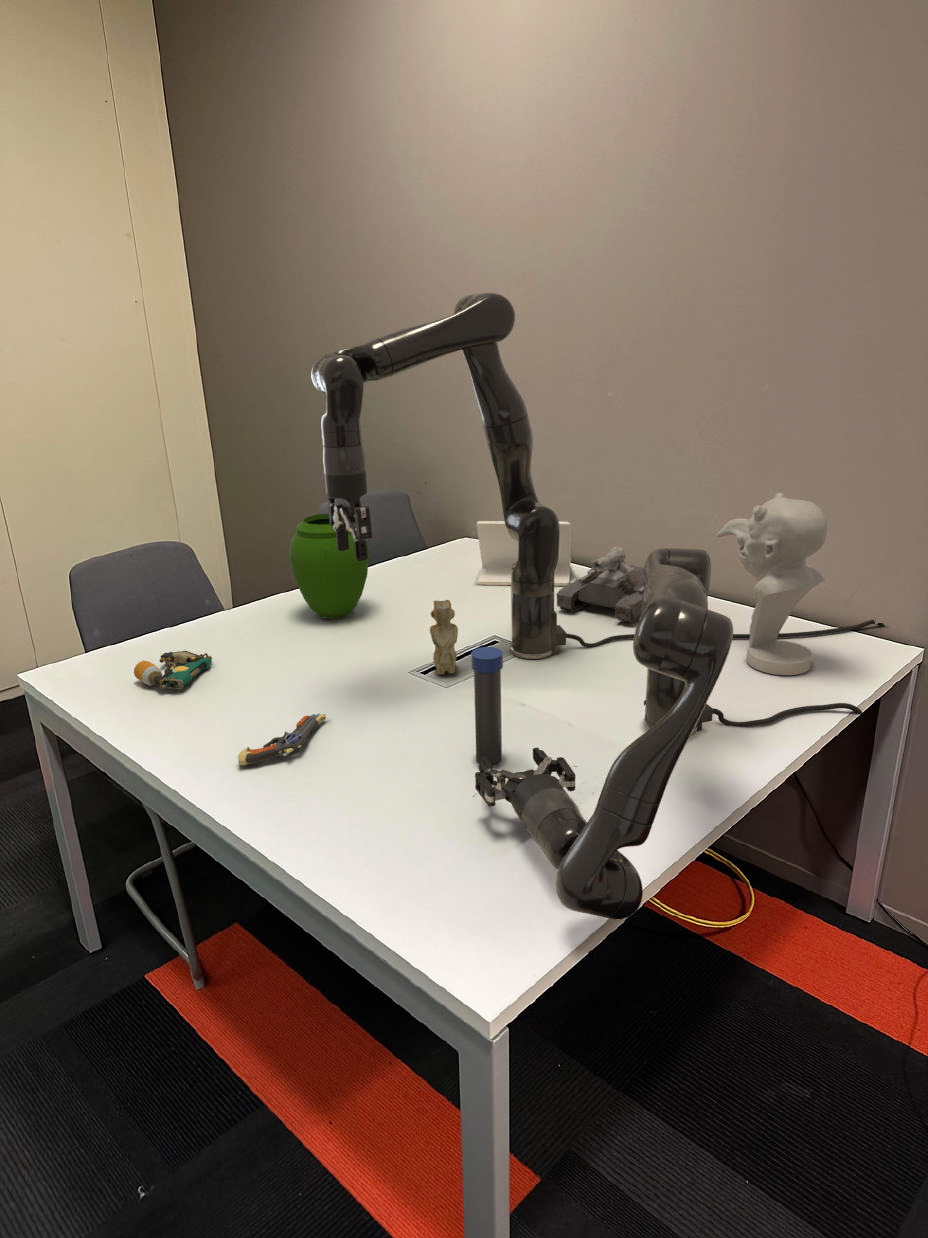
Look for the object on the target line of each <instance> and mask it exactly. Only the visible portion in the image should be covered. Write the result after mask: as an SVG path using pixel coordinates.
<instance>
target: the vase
mask: <svg viewBox="0 0 928 1238" xmlns="http://www.w3.org/2000/svg"><path fill="white" fill-rule="evenodd" d="M346 530H347V529H346ZM347 531H348V530H347ZM295 532H296V533H295V534H294V536H293V537H292V538H291V540H290V542H289V551H288V559H289V564H290V566H291V567H290V568H291V570H292V575H293V578H294V581H295V584H296V586H297V587H298V589H299V591H300V593H301V596H302V597H303V600H304V601H305V603H306V604H307V605H308V607H309V608H310V609H311V611H312V612H314V613H315V614H316V615H317V616H318V617H320V618H324V619H326V620H327V619H329V620H336V619H341V618H345V617H347V616H349V615H350V614H351V613H352V612H353V611H354V610H355V608H356V607H357V605H358V604H359V601H360V599H361V597H362V595H363V592H364V588H365V586H366V581H367V578H368V570H369V561H370V560H369V559H370V548H369V545H368V540H366V542H367V554H368V558H367V560H363V561H357V560H356V559H355V549H354V539H353V536H352V533H351V532H350V531H348V539H349V549H348V550H344V551H339V550H338V549H337V540H336V531H334V529H333V526H330V523H329V513H320V514H313V515H310V516H307V517H305V518H303V519H302V520H301V521H300V522H299V523H298V524H297V525H296V526H295ZM356 533H357V531H356Z"/></svg>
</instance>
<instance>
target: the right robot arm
mask: <svg viewBox="0 0 928 1238" xmlns="http://www.w3.org/2000/svg"><path fill="white" fill-rule="evenodd" d="M643 568H644V573H643V580H644V591H643V596H642V613H641V616H640V618H639V619H638V620H637V624H636V627H635V631H634V633H633V634H634V638H633V640H632V641H633V642H632V650H633V656H634V658H635V660H636V661H637V662H638V664H640V665H641V666H643V667H645V668H646V671H647V672H646V673H647V674H646V686H645V687H646V688H645V700H643V706H645V708H644V717H643V727H644V729H645V730H646V731H645V732H644V733H642V734H641V735H640V736H638V737H637V738H636V739H634V740H633V741H632V742H630V744H629V745H627V746H626V747H625V748H624V749H623V750H622V751H621V752H620V753H619V754H618V755H617V757H616V758H615V760H614V761H613V763H612V764H611V766H610V768H609V770H608V772H607V775H606V778H605V780H604V783H603V786H602V789H601V792H600V794H599V797H598V799H597V803H596V806H595V808H594V811H593V814H592V815H591V816H590V818H589V820H586V819H585V818H584V816H583V815H582V813H581V811H580V809H579V807H578V806H577V804H576V803H575V801H574V800H573V799H572V797H571V796H570V795H569V794H568V792H567V791H569V792H574V791H576V773H575V772H574V770H573V768H572V767H571V765H570V764H569V763H568V762H567V760H566V758H565V757H563V756H558V757H556V759H553V758H552V757H551V756H548V755H547V753H546V752H545V750H543V749H540V748H539V747H533V748H532V760H533V761H534V763H535V764H536V766H537V768H536V769H527V770H524V771H515V772H513V771H511V770H507V769H505V768H504V769H503V768H502V769H501V770H498V769H495V768H494V766H492V765H491V763H490V762H489V760H488V759H487V757H481V761H479V764H478V771H477V772H475V773H474V778H475V785H474V788H475V790H476V791H477V793H478V795H479V796H480V797H481V798H482V800H483V801H484V802H485V804H486V805H487V807H490V808H491V807H495V806H496V802H498V801H501V800H505V801H506V802H508V803H510V804H511V806H512V808H513V811H514V812H515V814H516V815H517V817H518V819H519V820H520V821H521V823H522V824H523V827H524V830H526V831H527V832H528V834H529V835H530V837H531V839H532V840H533V841H534V842H535V843H536V844H537V845H538V846H539V847H540V849H541V851H542V853H543V854H544V855H545V857H546V859H548V861H549V863H550V864H551V865H552V866H553V867H554V869H556V870H557V872H556V878H555V888H556V895H557V897H558V899H559V901H560V903H561V905H563V906H564V907H565V908H566V909H568V910H570V911H573V912H575V913H576V912H577V913H581V914H585V915H586V914H587V915H592V916H595V917H596V916H597V917H601V918H605V919H610V920H625V919H627V918H630V917H631V916H632V915H634V914H635V913H636V912H637V911H638V910H639V908H640V906H641V904H642V900H643V895H644V893H643V892H644V891H643V882H642V879H641V876H640V873H639V872H638V870H637V868H636V866H635V865H634V864H633V862H631V860H629V859H628V858H627V857H626V856H625V855H624V854H623V853H622V852H621V851H620V849H623V848H630V847H632V848H633V847H640V846H642V845H643V844H644V843H645V842H646V841H647V840H648V838H649V836H650V833H651V830H652V828H653V825H654V822H655V819H656V817H657V814H658V810H659V808H660V805H661V802H662V799H663V797H664V795H665V791H666V789H667V786H668V783H669V781H670V778H671V776H672V774H673V772H674V770H675V767H676V766H677V764H678V761H679V760H680V757H681V755H682V753H683V751H684V750H685V747H686V746H687V744H688V742H689V740H690V738H691V737H694V736H695V735H696V734H697V733H699V732H702V731H703V724H704V723H710V722H713V716H714V715H716V716H717V719H718V721H719V722H720V723H721V724H722V725H725V726H729V727H736V728H749V727H757V726H764V725H768V724H771V723H775V722H777V721H778V720H780V719H782V718H784V717H787V716H790V715H795V714H799V713H805V712H807V713H808V712H816V711H817V712H819V711H831V710H837V709H845V710H851V711H852V712H853V713H855V714H856V715H863V714H864V712H863V711H862V710H861V709H860V708H859V707H857V706H856V705H854V704H851V703H849V702H848V703H845V702H836V703H828V704H817V705H805V706H804V705H803V706H798V707H797V706H796V707H794V708H793V707H792V708H787V709H785V710H782V711H779V712H777V713H775V714H774V715H771V716H770V717H769V716H768V717H766V718H761V719H754V720H746V721H732V720H729V719H727V718H725V716H724V713H723V712H722V711H721V710H720V709H718V708H713V707H712V706H711V705H709V704H708V701H709V699H710V697H711V694H712V693H713V691H714V689H715V686H716V684H717V682H718V680H719V678H720V676H721V674H722V671H723V669H724V666H725V664H726V661H727V659H728V656H729V654H730V649H731V646H732V643H733V638H732V637H733V634H734V624H733V621H732V620H731V618H730V617H728V616H727V615H725V614H723V613H719V612H717V611H714V610H712V609H709V601H708V598H709V590H710V585H711V575H712V562H711V556H710V554H709V553H708V551H707V550H705V549H701V548H681V547H679V548H678V547H670V548H669V547H659V548H655V549H653V550H652V551H650V552H649V554H648V555H647V557H646V559H645V563H644V567H643ZM553 773H556V775H557V776H558V778H559V779H558V778H557V777H556V776H553V775H552V774H553ZM494 778H496V780H495V779H494ZM565 788H566V790H567V791H566V790H565Z"/></svg>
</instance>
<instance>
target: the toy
mask: <svg viewBox="0 0 928 1238" xmlns="http://www.w3.org/2000/svg"><path fill="white" fill-rule="evenodd" d="M626 557H627V556H626V551H625V549H624V548H622V547H621V546H614V547H612V548H611V549H610V550H609V552H608V553H607V554H605V555H604V556H601V557H599V558H598V559H597V557H596V558H594V559H593V560H592V561H590V562H589V563H590V564H591V565H592V567H591V568H590V569H589V570H587V573H586V575H584V576H582V577H580V578H578V579H577V580H575V581H573V582H570V583H569V585H567V586H563V587H562V588H560V589H559V590H558V591H557V592H556V607H558V608H559V609H560V610H562V611H566V612H572V613H575V612H577V611H579V610H581V609H582V608H585V607H586V606H588V605H592V606H598V607H602V608H603V607H604V608H609V609H613V610H614V618H615V619H617V620H618V621H621V622H626V623H631V624H634V623H635V622H637V621H639V618H640V616H641V613H642V596H643V591H644V580H643V573H644V567H641V566H635V565H629V564H628V563H627V562H626V561H625V559H626Z"/></svg>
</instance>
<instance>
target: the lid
mask: <svg viewBox="0 0 928 1238" xmlns="http://www.w3.org/2000/svg"><path fill="white" fill-rule="evenodd" d="M470 659H471V660H470V661H471V663H470V664H471V665H470V666H471V669H472V671H473V672H474V671H476V672H480V673H493V672H497V671H499V670H501V671H502V669H503V668H504V654H503V650H502V649H500V648H497V647H494V646H481V647H477V648H474V649H472V651H471V653H470Z"/></svg>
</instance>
